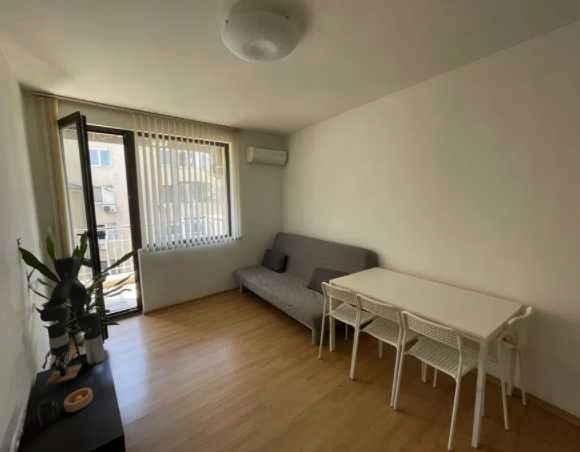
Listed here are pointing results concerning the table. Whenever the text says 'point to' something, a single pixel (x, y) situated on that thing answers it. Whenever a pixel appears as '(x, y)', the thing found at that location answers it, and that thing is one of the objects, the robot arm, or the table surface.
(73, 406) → the bowl
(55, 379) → the lid
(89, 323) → the robot arm
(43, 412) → the supplement bottle
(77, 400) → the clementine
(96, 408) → the table surface
